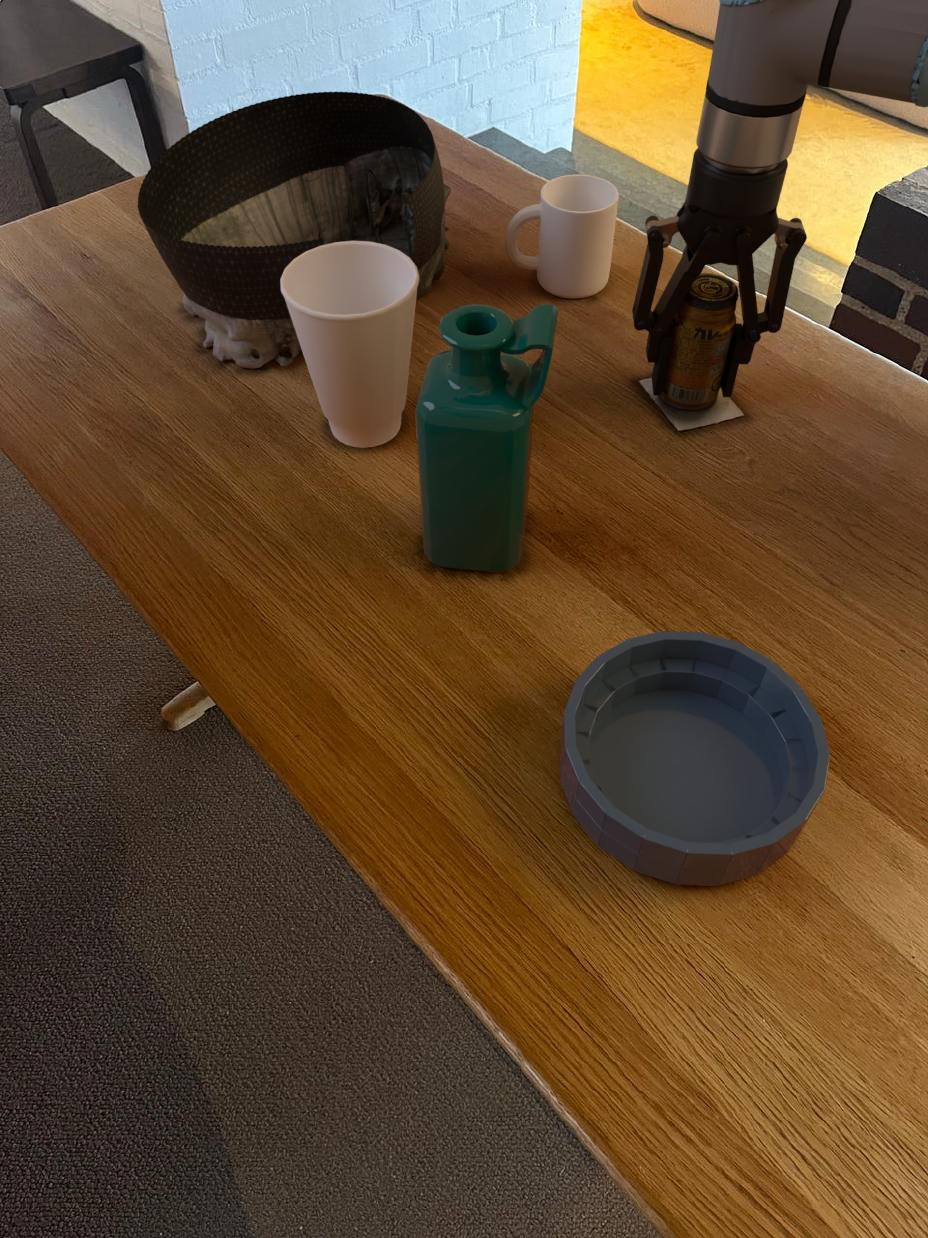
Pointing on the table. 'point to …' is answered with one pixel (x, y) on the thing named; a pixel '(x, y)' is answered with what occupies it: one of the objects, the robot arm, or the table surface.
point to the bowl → (691, 757)
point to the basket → (289, 207)
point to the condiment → (699, 355)
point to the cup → (355, 333)
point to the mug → (570, 235)
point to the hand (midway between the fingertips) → (690, 387)
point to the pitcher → (480, 435)
